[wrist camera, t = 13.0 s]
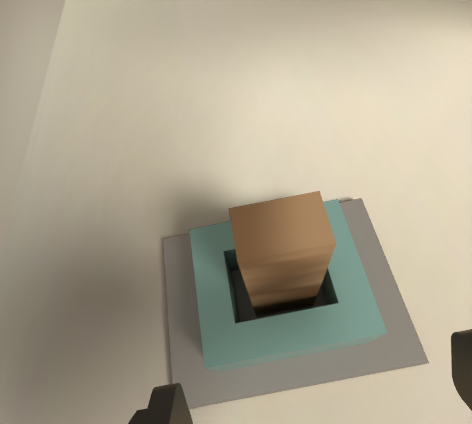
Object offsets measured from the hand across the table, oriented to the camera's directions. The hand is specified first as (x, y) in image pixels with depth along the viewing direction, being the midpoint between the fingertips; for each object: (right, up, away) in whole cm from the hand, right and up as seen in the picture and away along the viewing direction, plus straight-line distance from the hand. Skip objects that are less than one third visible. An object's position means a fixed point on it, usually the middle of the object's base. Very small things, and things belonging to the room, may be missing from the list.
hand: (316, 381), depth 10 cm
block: (+1, -1, +14) cm, 14 cm away
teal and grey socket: (+1, -1, +15) cm, 15 cm away
